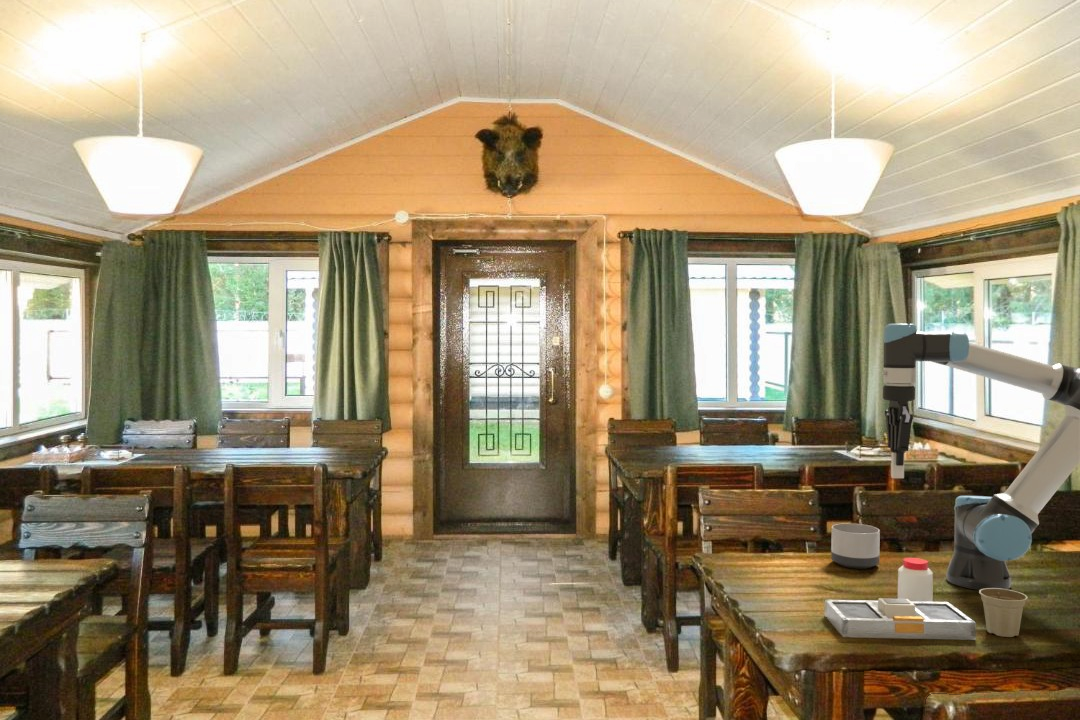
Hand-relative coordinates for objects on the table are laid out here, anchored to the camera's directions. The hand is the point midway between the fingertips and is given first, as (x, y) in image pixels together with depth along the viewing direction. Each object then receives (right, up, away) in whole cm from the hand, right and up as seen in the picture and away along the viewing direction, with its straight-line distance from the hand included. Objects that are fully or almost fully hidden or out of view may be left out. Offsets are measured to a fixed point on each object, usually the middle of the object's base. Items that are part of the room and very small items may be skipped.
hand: (897, 477), depth 215 cm
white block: (-11, -29, -25) cm, 40 cm away
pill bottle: (0, -30, -9) cm, 31 cm away
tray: (-10, -30, -25) cm, 40 cm away
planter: (-1, -29, +27) cm, 40 cm away
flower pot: (+11, -31, -28) cm, 43 cm away
